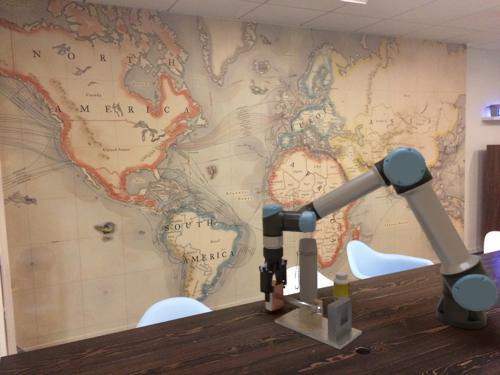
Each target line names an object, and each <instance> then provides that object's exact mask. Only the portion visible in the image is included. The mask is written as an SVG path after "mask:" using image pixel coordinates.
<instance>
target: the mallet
mask: <svg viewBox="0 0 500 375" xmlns="http://www.w3.org/2000/svg"><path fill="white" fill-rule="evenodd" d="M267 290H268V289H267ZM271 293H272V305H273V310H272V311H277V310H279V309H281V308H283V307H285V306H284V305H285V304H284V302H285V303H287V304H291V305H294V306H297V307H298V308H300V306H301V305H303V304H305V305H308V306H311V311H313V312H315V313H316V314H318V315H320V314H322V313H324V308H323V306H322V307H321V306H315V305H312V304H309V303H306V302H303V301H301V300H300V299H296V298H294V297H290V296H287V295H285V294H284V289H283V283H282V282H279V281H276V279H272V286H271ZM264 307H265V308H266V301H265V300H264Z"/></svg>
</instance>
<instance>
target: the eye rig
mask: <svg viewBox="0 0 500 375" xmlns="http://www.w3.org/2000/svg"><path fill="white" fill-rule="evenodd" d="M352 301H353V300H352V298H350V297H349V298H347V297H344V296H343V297H341V298H339V299H338V300H336V301H335V300H334V301H333V302H331V303H329V304H327V317H324V316H323V315H324V314H323V313H324V312H323V313H322V314H320V315H318V314H316V313H315V312H313V311H311V306H308V305H305V304H303V305H301V306H300V307H297V308H296V309H292V310H291V311H289V312H287V313H285V314H283V315H281V316H279V317H278V318H275V319H274V323H275V324H278V325H281V326H282V327H285V328H286V329H290V330H292V331H294V332H297V333H299V334H301V335H305V336H307V337H309V338H311V339H314V340H316V341H319V342H321V343H323V344H326V345H328V346H330V347H333V348H336V349H338V350H341V349H343V348H345V347H346V346H347V345H349V344H350V343H352V342H353V341H354V340H355V339H357V338H358V337H359V336H360V335H362V333H363V332H362V331H363V330H361V329H357V328H354V327H352V324H353V323H352V316H353V315H352V313H353V311H352V310H353V309H352V308H353V307H352ZM312 305H315V306H321V307H322V308H323V300H321V299H319V298H318V299H316V298H315V299H313V300H312Z"/></svg>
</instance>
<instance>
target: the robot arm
mask: <svg viewBox="0 0 500 375" xmlns="http://www.w3.org/2000/svg"><path fill="white" fill-rule="evenodd" d="M433 181H434V177H433V175H432V173H431V171H430V170H429V168H428V166H427V163H426V159H425V157H424V156H423V155H422V153H421V152H420V151H419V150H417V149H416V148H413V147H410V146H398V147H397V148H393V149H392V150H391V151H389V152H388V154H386V155H385V156H384V157H383V158H381V159H379V161H377V162H376V163H373V165H372V167H371V168H370V169H369V170H366V171H364V172H363V173H361V174H359V175H358V176H356V177H354V178H352V179H350V180H349V181H347V182H345V183H343V184H342V185H339V186H338V187H336V188H334V189H332V190H331V191H329V192H326V193H325V194H323V195H322V196H320V197H318V198H316V199H314V200H313V201H311V202H309V203H307V204H305V205H302V206H301V207H299V209H297V210H285V209H284V208H283V205H281V204H276V203H275V204H274V203H273V204H266V205H264V206H263V207H262V209H261V210H262V212H261V214H262V216H261V220H262V223H261V224H262V246H263V248H262V255H263V257H264V258H263V259H264V262H263V263H264V264H263V265H259V266H258V270H259V286H260V288H259V291H260V292H261V293H263V294H264V302H265V301H266V307H265V309H266V310H268V311H270V312H273V311H274V310H273V305H272V293H271V286H272V280H274V278H273V277H275V281H279V282H282V283H283V290H285V289H286V288H287V287H286V286H288V272H287V266H288V265H287V264H288V259H285V258H283V257H284V247H283V245H284V232H291V233H292V232H293V233H294V232H295V233H304V234H306V233H314V232H315V231H316V228H317V222H318V221H320V220H322V219H323V218H326V217H327V216H329V215H331V214H333V213H335V212H337V211H339V210H341V209H342V208H345V207H346V206H348V205H351V204H352V203H354V202H356V201H358V200H360V199H362V198H364V197H366V196H368V195H369V194H372V193H374V192H375V191H378V189H381V188H382V187H383V188H384V187H385V188H388V187H390V186H392V188H393V189H394V191H395V194H396V195H397V196H399V197H402V198H404V200H405V201H406V203H407V205H408V207H409V208H410V211H411V212H412V214H413V215H414V218H415V219H416V221H417V223H418V225H419V226H420V228H421V230H422V232H423V233H424V235H425V237H426V239H427V240H428V243H429V244H430V246H431V248H432V250H433V251H434V253H435V255H436V257H437V259H438V260H439V262H440V264H441V266H440V268H439V273H440V274H441V277H442V278H441V279H442V280H441V282H442V284H441V295H440V299H439V301H438V303H437V306H436V308H435V316H436V318H437V319H438V320H440V321H441V322H442V323H444V324H447V325H450V326H453V327H456V328H461V329H467V330H478V329H479V330H480V329H482V328H485V327H486V326H487V325H488V323H487V321H488V320H487V319H488V318H487V317H488V316H487V314H486V312H485V310H486V311H487V310H488V309H490V308H491V307H493V306H494V305H495V304H496V302H497V300H498V297H499V291H498V288H497V287H498V286H497V284H496V283H495V282H494V280H493V279H492V278H491V277H490V275H489V274H488V272H487V270H486V269H485V267H484V262H483V258H482V257H481V256H479V255H477V254H471V253H470V251H469V249H468V248H467V246H466V244H465V242H464V241H463V239H462V237H461V235H460V233H459V232H458V230H457V229H456V227H455V225H454V224H453V222H452V219H451V217H450V216H449V214H448V212H447V211H446V209H445V207H444V205H443V203H442V202H441V200H440V198H439V197H438V195H437V193H436V191H435V190H434V187H433V185H432V184H433ZM267 289H268V290H267Z"/></svg>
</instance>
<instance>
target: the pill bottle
mask: <svg viewBox="0 0 500 375" xmlns="http://www.w3.org/2000/svg"><path fill="white" fill-rule="evenodd" d="M334 276H335V278H333V300H334V301H336V300H338V299H339V298H341V297H343V296H344V297H347V298H350V279H349V278H348V277H349V276H348V273H347V272H344V271H337V272H335V274H334Z"/></svg>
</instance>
